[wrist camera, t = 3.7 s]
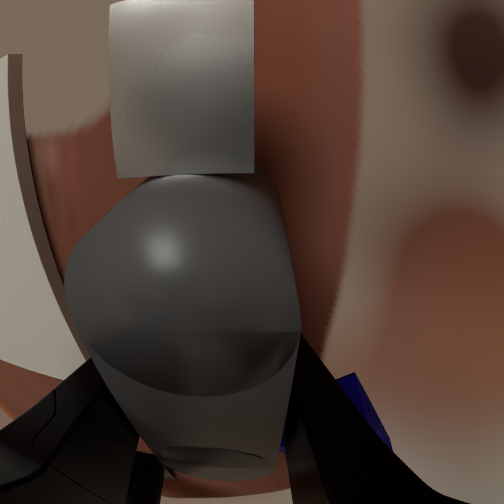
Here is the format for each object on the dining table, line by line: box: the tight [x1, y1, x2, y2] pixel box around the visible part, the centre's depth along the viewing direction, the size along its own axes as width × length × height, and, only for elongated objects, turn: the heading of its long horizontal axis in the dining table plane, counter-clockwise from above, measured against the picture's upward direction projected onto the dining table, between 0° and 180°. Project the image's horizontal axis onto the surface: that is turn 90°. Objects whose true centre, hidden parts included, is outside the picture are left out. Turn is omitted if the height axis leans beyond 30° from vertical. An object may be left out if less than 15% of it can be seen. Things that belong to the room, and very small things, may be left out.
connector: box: [64, 0, 301, 481], centre depth 6 cm, size 4×12×4 cm, turn 0°
